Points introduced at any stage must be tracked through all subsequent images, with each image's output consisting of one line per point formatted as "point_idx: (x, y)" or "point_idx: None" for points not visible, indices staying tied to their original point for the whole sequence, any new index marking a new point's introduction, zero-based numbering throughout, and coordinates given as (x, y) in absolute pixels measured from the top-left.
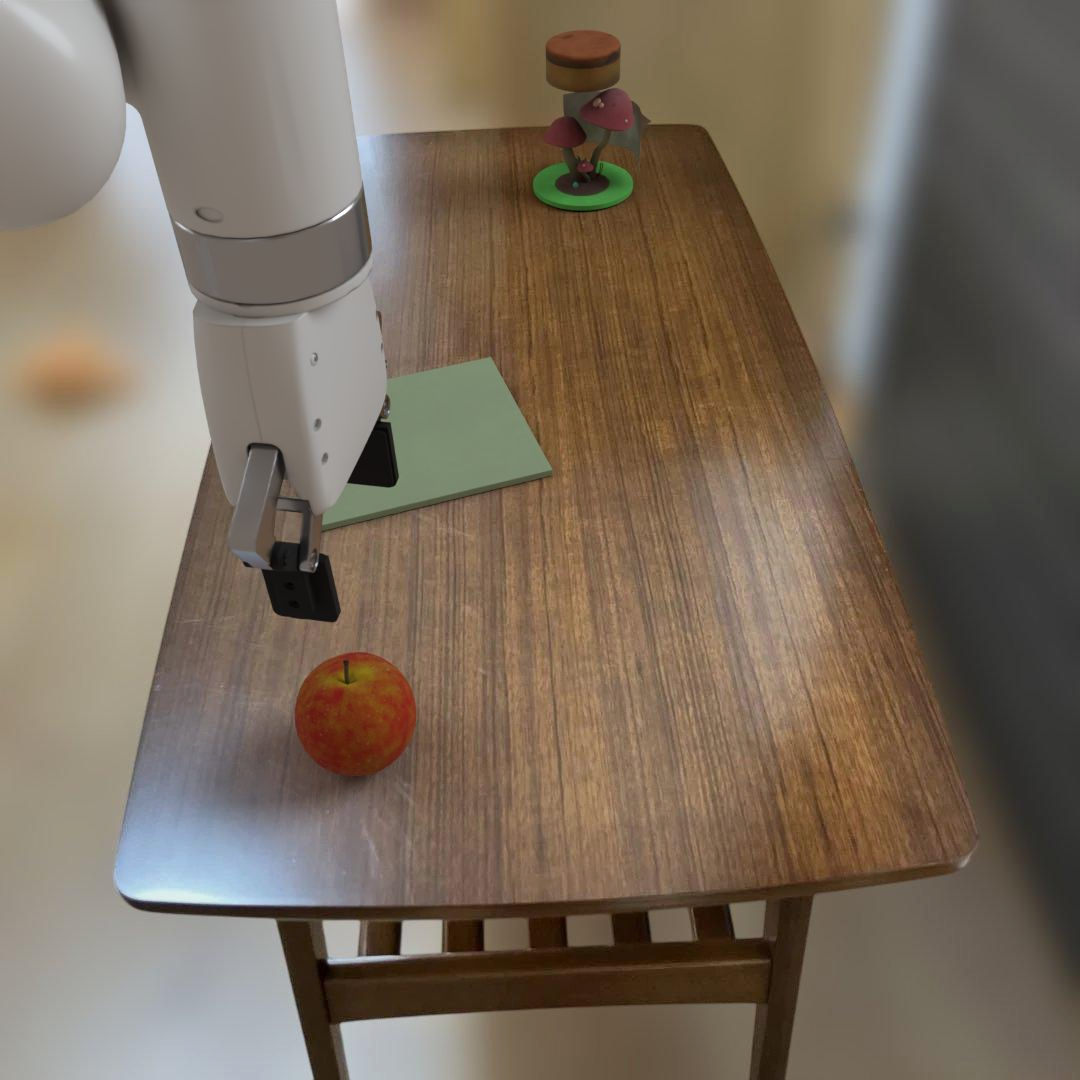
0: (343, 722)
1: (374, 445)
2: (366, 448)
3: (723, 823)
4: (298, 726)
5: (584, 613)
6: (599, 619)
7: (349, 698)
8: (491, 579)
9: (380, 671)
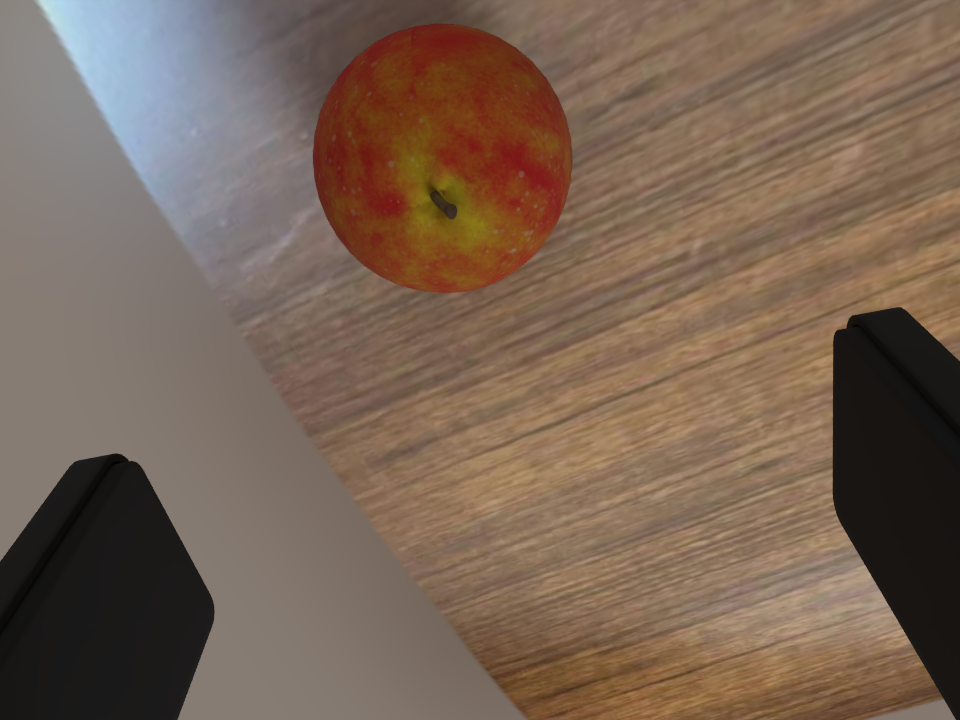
0: (348, 229)
1: (942, 641)
2: (930, 593)
3: (532, 613)
4: (333, 93)
5: None
6: None
7: (390, 233)
8: (947, 161)
9: (494, 248)
